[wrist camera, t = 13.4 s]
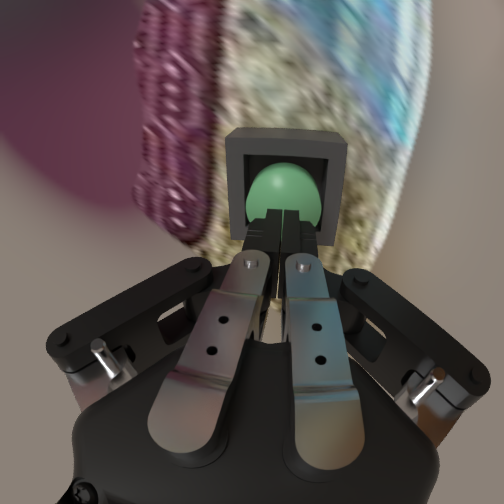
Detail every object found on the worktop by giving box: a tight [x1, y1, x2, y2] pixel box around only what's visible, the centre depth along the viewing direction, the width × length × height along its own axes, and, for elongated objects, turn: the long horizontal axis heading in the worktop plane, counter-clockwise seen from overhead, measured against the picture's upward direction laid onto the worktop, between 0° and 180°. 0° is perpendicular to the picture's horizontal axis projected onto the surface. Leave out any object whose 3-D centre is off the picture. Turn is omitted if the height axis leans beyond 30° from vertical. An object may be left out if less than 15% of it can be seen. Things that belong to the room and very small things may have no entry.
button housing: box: [225, 128, 348, 246], centre depth 17 cm, size 7×7×4 cm
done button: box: [246, 162, 321, 241], centre depth 15 cm, size 4×4×2 cm
